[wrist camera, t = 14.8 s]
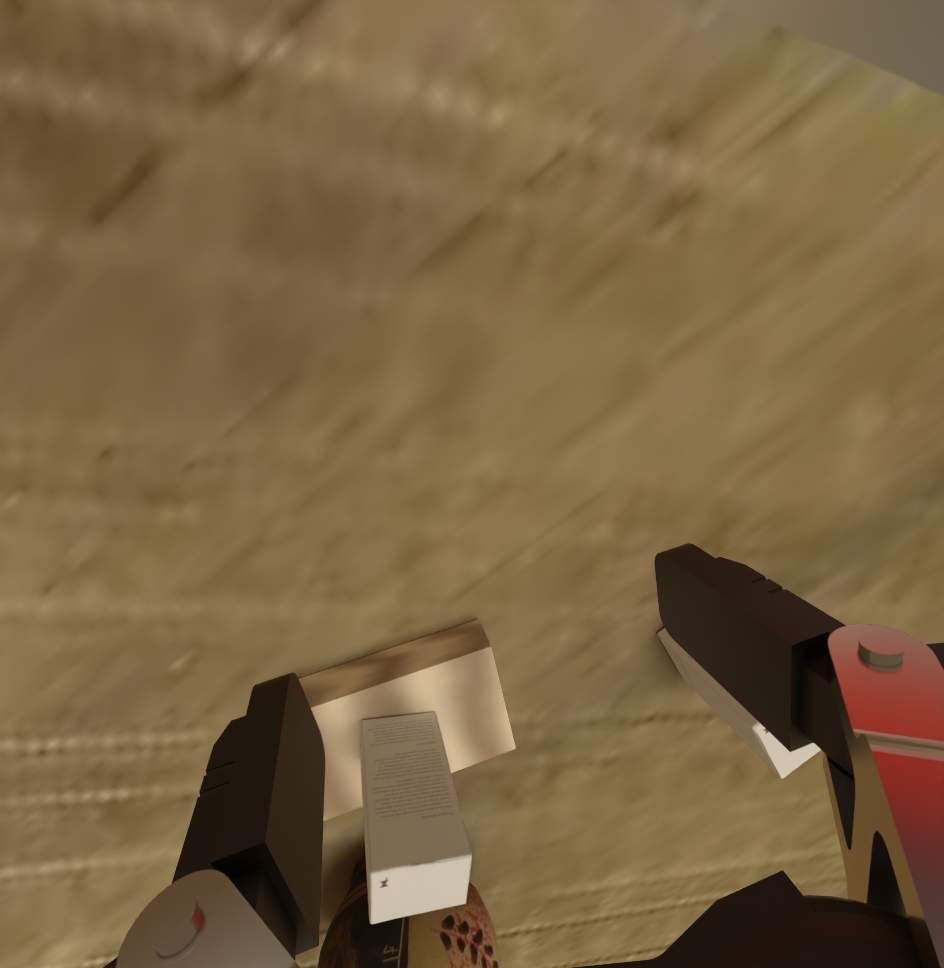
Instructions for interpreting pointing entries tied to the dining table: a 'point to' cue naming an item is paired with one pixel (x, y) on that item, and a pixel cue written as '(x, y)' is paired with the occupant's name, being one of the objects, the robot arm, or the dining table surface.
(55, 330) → the dining table surface
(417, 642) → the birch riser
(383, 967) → the ceramic jug
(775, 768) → the supplement box
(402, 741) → the skincare box
